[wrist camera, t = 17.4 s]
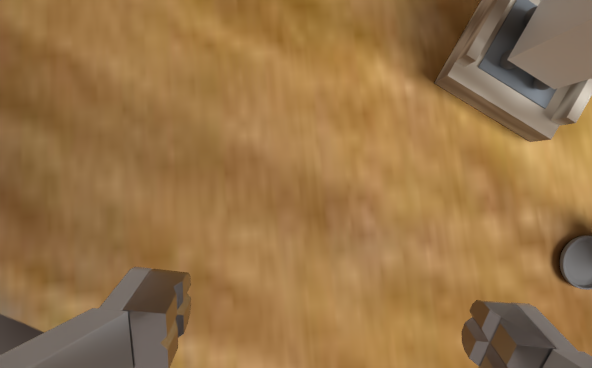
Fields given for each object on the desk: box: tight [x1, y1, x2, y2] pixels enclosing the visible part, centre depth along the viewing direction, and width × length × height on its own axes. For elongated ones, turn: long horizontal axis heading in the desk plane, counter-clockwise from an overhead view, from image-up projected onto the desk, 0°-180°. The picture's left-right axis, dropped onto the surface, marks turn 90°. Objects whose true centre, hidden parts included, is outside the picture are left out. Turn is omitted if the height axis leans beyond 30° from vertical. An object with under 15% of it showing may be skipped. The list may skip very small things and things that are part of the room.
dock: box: [434, 0, 592, 142], centre depth 36 cm, size 14×14×5 cm
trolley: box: [500, 0, 592, 90], centre depth 29 cm, size 7×6×13 cm
